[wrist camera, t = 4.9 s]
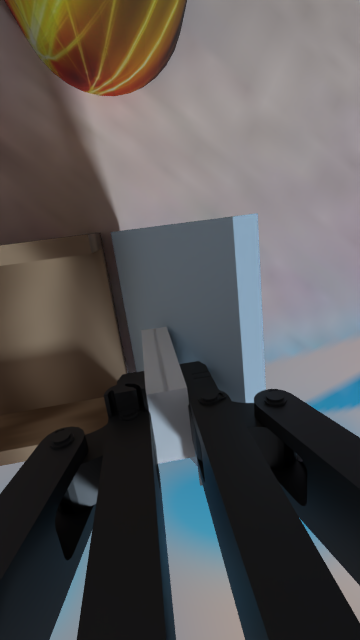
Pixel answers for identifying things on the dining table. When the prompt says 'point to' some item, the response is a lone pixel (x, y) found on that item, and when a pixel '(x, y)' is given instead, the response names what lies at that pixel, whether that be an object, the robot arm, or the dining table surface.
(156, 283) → the pale blue square panel
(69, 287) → the crate
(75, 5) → the mug
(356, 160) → the dining table surface
